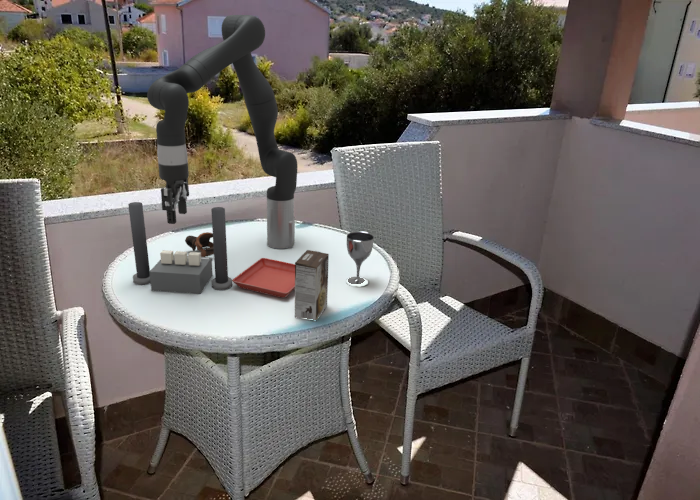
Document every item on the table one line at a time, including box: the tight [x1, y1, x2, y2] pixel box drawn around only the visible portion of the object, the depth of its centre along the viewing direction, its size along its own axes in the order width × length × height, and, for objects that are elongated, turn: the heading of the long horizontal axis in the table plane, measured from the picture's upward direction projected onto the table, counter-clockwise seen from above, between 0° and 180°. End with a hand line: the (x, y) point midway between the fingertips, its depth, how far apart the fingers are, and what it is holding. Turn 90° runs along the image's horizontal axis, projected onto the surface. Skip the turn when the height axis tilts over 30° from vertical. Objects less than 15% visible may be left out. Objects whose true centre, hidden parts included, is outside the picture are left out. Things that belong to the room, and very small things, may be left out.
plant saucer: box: [232, 257, 295, 299], centre depth 154 cm, size 18×18×3 cm
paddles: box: [159, 249, 202, 266], centre depth 149 cm, size 12×2×3 cm, turn 88°
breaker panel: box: [149, 255, 213, 295], centre depth 150 cm, size 14×12×6 cm
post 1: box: [128, 201, 151, 286], centre depth 147 cm, size 6×6×24 cm
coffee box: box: [294, 249, 330, 321], centre depth 137 cm, size 9×6×16 cm
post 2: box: [210, 206, 234, 291], centre depth 147 cm, size 6×6×24 cm
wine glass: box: [346, 231, 375, 284], centre depth 155 cm, size 8×8×15 cm
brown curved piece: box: [184, 232, 214, 257], centre depth 171 cm, size 12×10×8 cm
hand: (177, 218), depth 144 cm, fingers open, 8 cm apart
